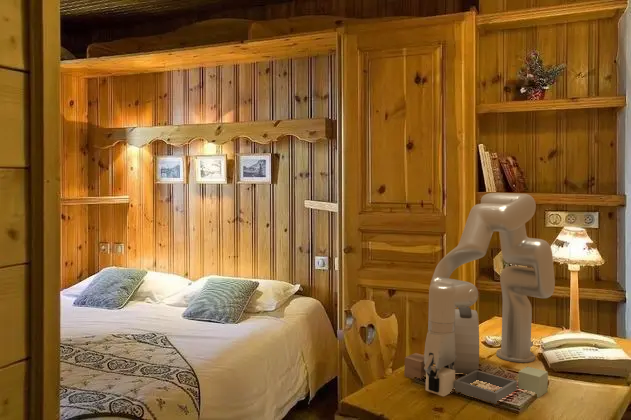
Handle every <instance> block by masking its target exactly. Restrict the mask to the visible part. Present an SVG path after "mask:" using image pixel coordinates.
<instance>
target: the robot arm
mask: <svg viewBox="0 0 631 420" xmlns="http://www.w3.org/2000/svg"><path fill="white" fill-rule="evenodd" d="M536 204H537V203H536V201H535V199H534V197H533V196H532V195H530V194H528V193H513V192H512V193H510V192H490V193H486V194H483V196H481V198H480V203H477V204H475V205H473V206H472V208H471V209H470V211H469V214H468V216H467V218H466V222H465V225H464V228H463V231H462V233H461V236H460V239H459V242H458V244H457V246H455V247H454V248H453V249H452V250H450V251H449V252H448V253H447V254H446V255H444V256H443V257H442V258H441V259H440V261H439V262H438V263H437V265H436V267H435V269H434V271H433V274H432V277H431V280H430V283H429V288H428V317H427V318H428V322H427V324H428V327H427V333H426V338H425V344H424V352H423V355H424V364H425V366H424V369H425V371H426V373H427V374H428V377H429V387H428V388H429V390H431V391H434V392H439V378H438V375H439V371H440V368H442V367H445V368H448V369H452V370H453V365H454V362H455V359H456V355H455V353H456V346H455V309H458V307H469V308H470V307H471V306H473V305H474V304H475V303H476V302H477V301H478V297H479V291H478V287H477V286H476V285H475V284H473V283H472V282H469V281H465V280H459V279H454V278H450V277H451V275H452V274H453V272H454V271H455V270H456V269H457V268H459V267H461V266H462V265H464V264H467V263H470V262H473V261H476V260H479V259H482V258H483V257H485V256H486V254H487V252H488V248H489V246H490V242H491V239H492V235H493V234H494V232H499V233H498V234H499V240H500V241H499V242H500V249H501V250H500V251H501V257H502V259H503V261H504V262H505V263H507V264H511V265H510V266H506V267H504V268H503V269H502V271H501V273H500V276H499V281H500V283H499V284H500V288H501V297H502V310H501V311H502V313H501V314H502V316H501V341H500V343H501V344H500V345H501V346H500V348H499V349H496V354H495V355H496V356H497V357H498V358H500V359H502V360H505V361H509V362H513V363H531V362H533V361H535V360H536V355H535V354H534V353H533V352H531V349H532V348H531V347H534V343H533V341H532V321H533V320H532V319H533V317H532V316H533V315H532V313H533V311H532V310H533V308H532V307H533V306H532V304H531V301H530V300H529V298H528V297H533V298H539V299H548V298H550V297H551V296H553V294H554V292H555V286H556V285H555V284H556V279H555V268H554V259H553V251H552V247H551V245H550V244H549V243H548V241H546V240H544V239H543V238H542V239H541V238H534V237H528V235H527V229H526V223H527V222H529V221H530V220H531V219H532V218H533V216H534V215H535V213H536V209H537V205H536ZM434 365H435V366H434ZM433 368H434V369H436V371H435V372H434V371H433Z"/></svg>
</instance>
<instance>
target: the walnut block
mask: <svg viewBox="0 0 631 420" xmlns="http://www.w3.org/2000/svg"><path fill="white" fill-rule="evenodd" d="M424 366H425V364H424V354H421V353H418V352H415V353H412V354H409V355H407V356H404V377H406V378H410V379H413V378H414V377H417V378H420V379H421V378H422V377H423V376H424V375H426V371H425V369H424ZM413 380H414V379H413Z"/></svg>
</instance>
